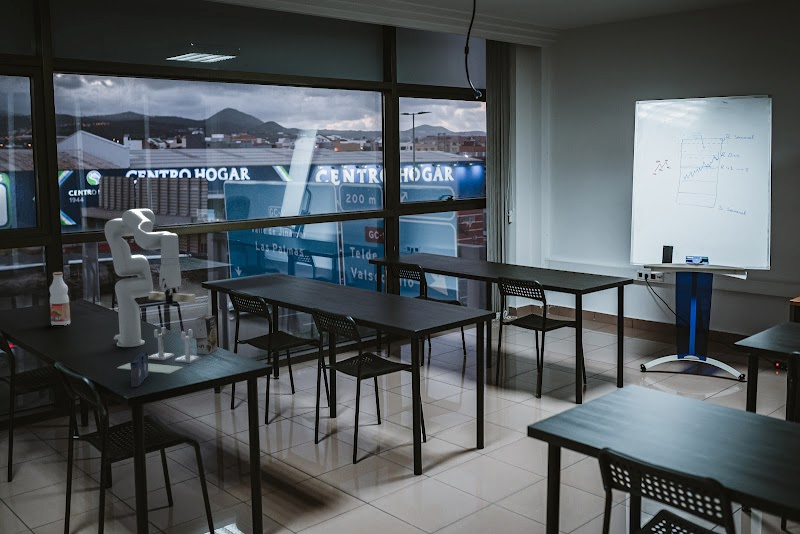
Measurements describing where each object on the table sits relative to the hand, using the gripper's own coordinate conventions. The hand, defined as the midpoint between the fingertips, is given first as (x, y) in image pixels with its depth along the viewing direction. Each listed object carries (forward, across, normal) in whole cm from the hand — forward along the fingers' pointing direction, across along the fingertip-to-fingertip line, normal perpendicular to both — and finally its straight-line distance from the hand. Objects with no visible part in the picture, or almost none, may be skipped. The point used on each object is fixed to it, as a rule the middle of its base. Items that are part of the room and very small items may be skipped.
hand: (171, 303), depth 350 cm
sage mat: (+25, +17, 0) cm, 30 cm away
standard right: (+25, 0, +7) cm, 26 cm away
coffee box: (+25, -16, +6) cm, 31 cm away
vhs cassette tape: (+25, +34, +8) cm, 44 cm away
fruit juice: (+26, -43, -102) cm, 113 cm away
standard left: (+25, 0, -7) cm, 26 cm away
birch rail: (-1, 0, 0) cm, 1 cm away
